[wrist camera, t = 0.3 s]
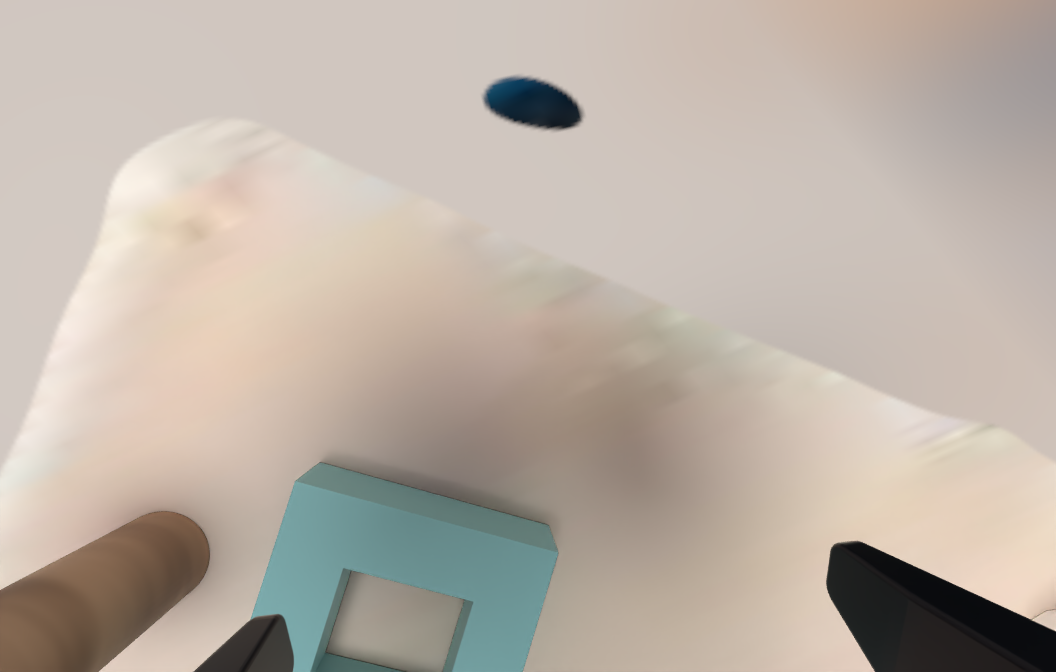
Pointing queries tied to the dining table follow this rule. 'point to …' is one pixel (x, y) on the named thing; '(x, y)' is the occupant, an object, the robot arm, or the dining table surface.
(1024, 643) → the robot arm
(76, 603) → the walnut pin
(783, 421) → the dining table surface
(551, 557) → the socket block
